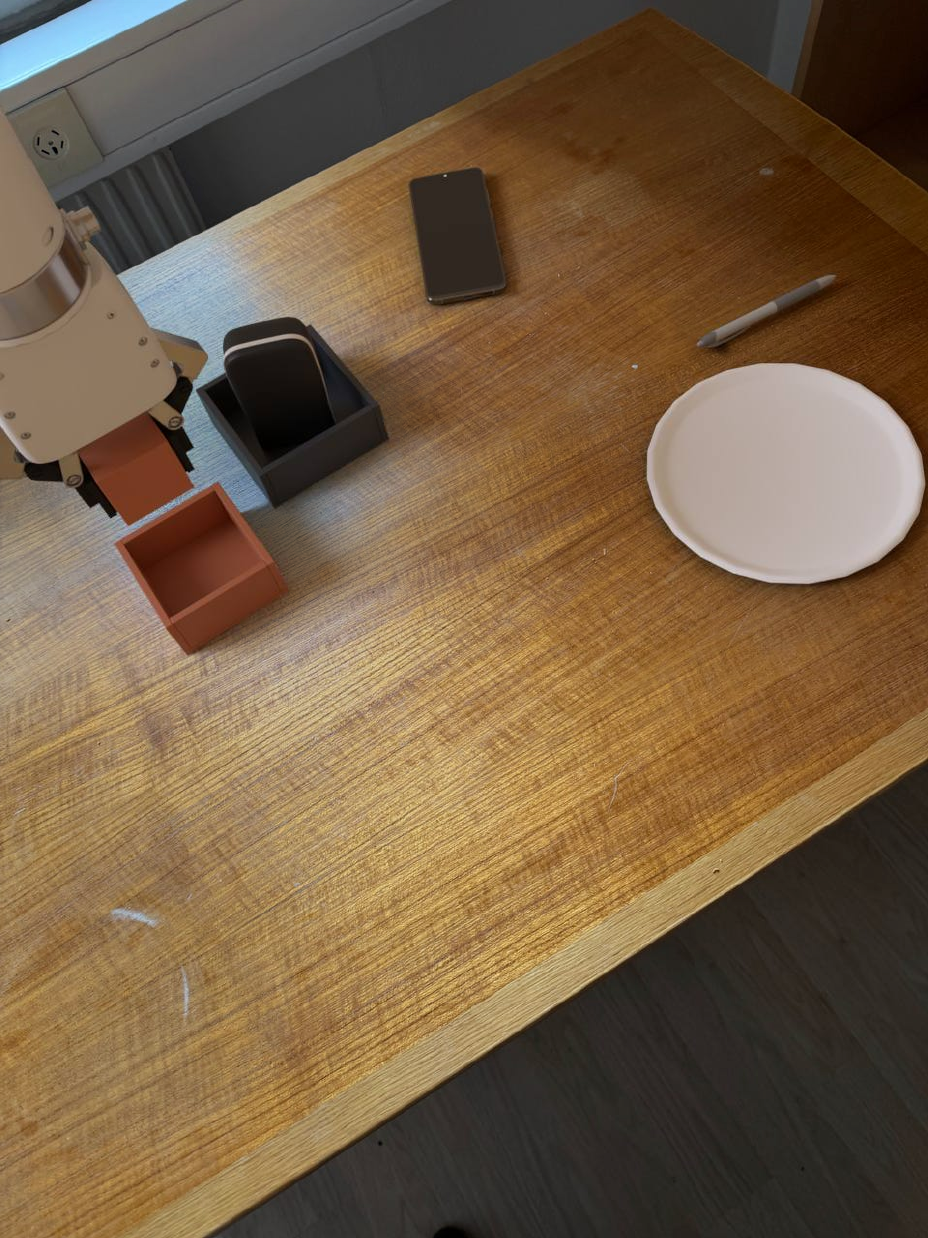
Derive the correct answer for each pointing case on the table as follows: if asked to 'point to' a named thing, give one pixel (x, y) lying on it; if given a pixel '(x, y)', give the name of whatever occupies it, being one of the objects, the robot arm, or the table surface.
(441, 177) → the smartphone
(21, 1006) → the table surface
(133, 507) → the clay block
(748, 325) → the pen
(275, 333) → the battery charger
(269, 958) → the table surface
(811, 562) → the plate
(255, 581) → the clay bin
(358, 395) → the dark bin
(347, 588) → the table surface
